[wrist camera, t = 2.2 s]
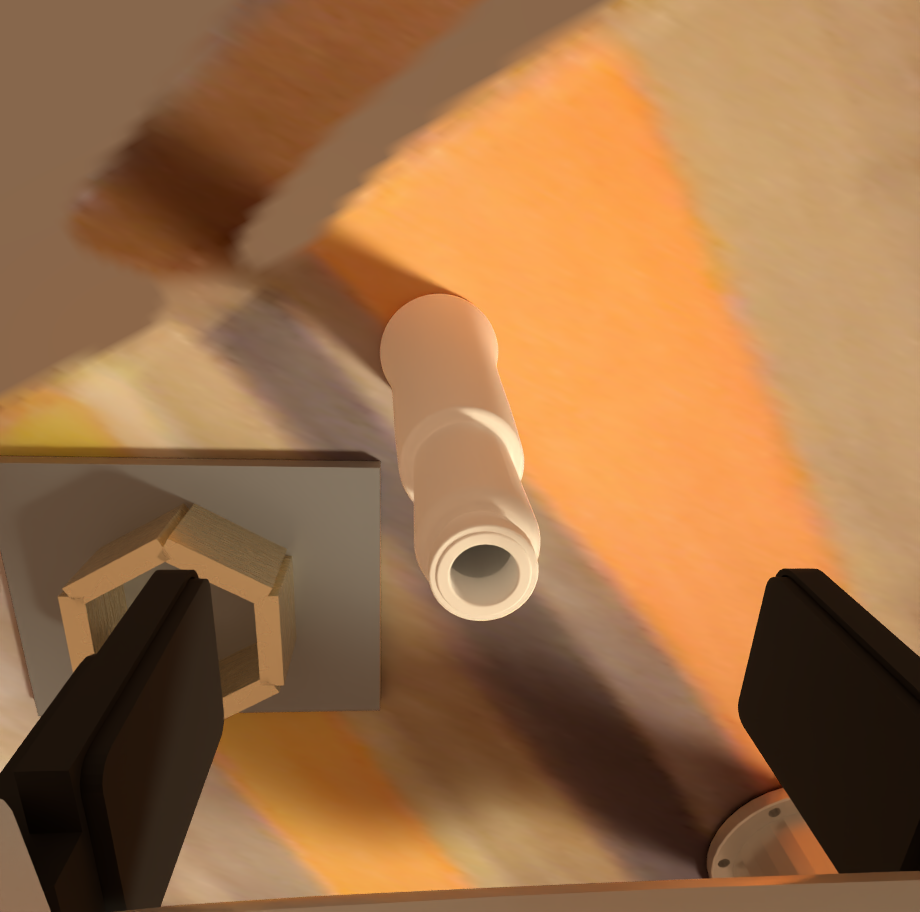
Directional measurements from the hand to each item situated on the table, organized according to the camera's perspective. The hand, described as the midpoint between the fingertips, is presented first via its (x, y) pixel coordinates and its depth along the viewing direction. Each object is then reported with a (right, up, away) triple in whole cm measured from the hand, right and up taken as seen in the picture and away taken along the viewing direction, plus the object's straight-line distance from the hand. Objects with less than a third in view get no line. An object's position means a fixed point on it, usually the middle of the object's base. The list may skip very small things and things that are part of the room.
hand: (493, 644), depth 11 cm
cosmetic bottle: (-2, +9, +23) cm, 24 cm away
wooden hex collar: (-15, -4, +26) cm, 31 cm away
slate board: (-15, -4, +26) cm, 31 cm away
